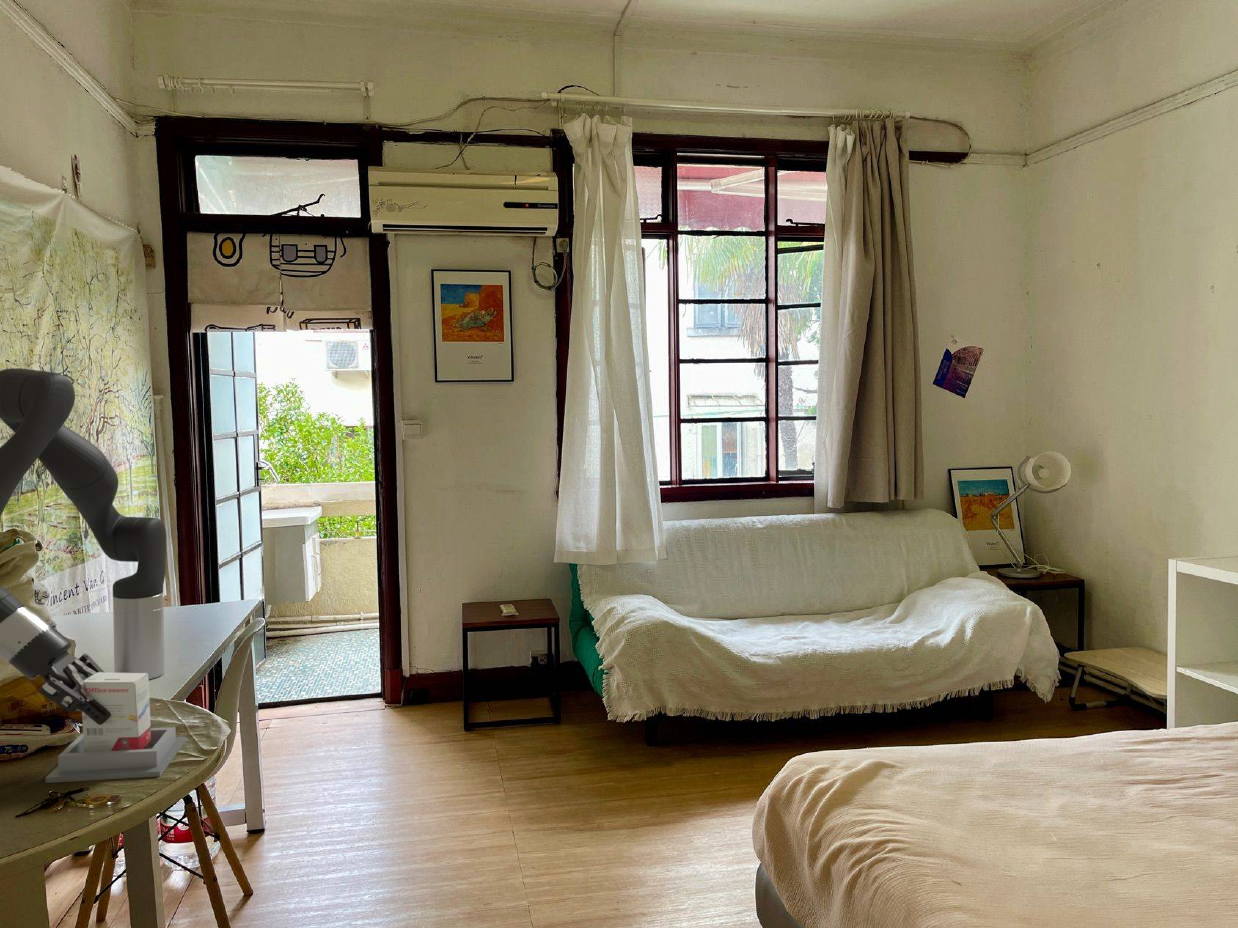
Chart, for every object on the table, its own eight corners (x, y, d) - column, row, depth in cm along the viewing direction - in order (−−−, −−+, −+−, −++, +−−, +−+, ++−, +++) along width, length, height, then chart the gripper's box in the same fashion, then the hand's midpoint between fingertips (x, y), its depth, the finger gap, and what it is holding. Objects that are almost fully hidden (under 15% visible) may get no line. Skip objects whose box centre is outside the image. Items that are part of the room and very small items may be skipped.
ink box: (153, 741, 144) (151, 671, 143) (137, 754, 139) (136, 682, 138) (98, 741, 144) (96, 670, 143) (81, 754, 139) (79, 681, 138)
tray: (82, 746, 147) (82, 727, 147) (185, 741, 150) (185, 722, 150) (45, 782, 133) (45, 761, 133) (159, 776, 136) (159, 755, 136)
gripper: (25, 637, 131) (115, 712, 134) (66, 613, 145) (146, 682, 148) (-14, 673, 130) (77, 748, 134) (31, 646, 144) (112, 714, 148)
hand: (113, 713), depth 141 cm, fingers closed on ink box, 5 cm apart
